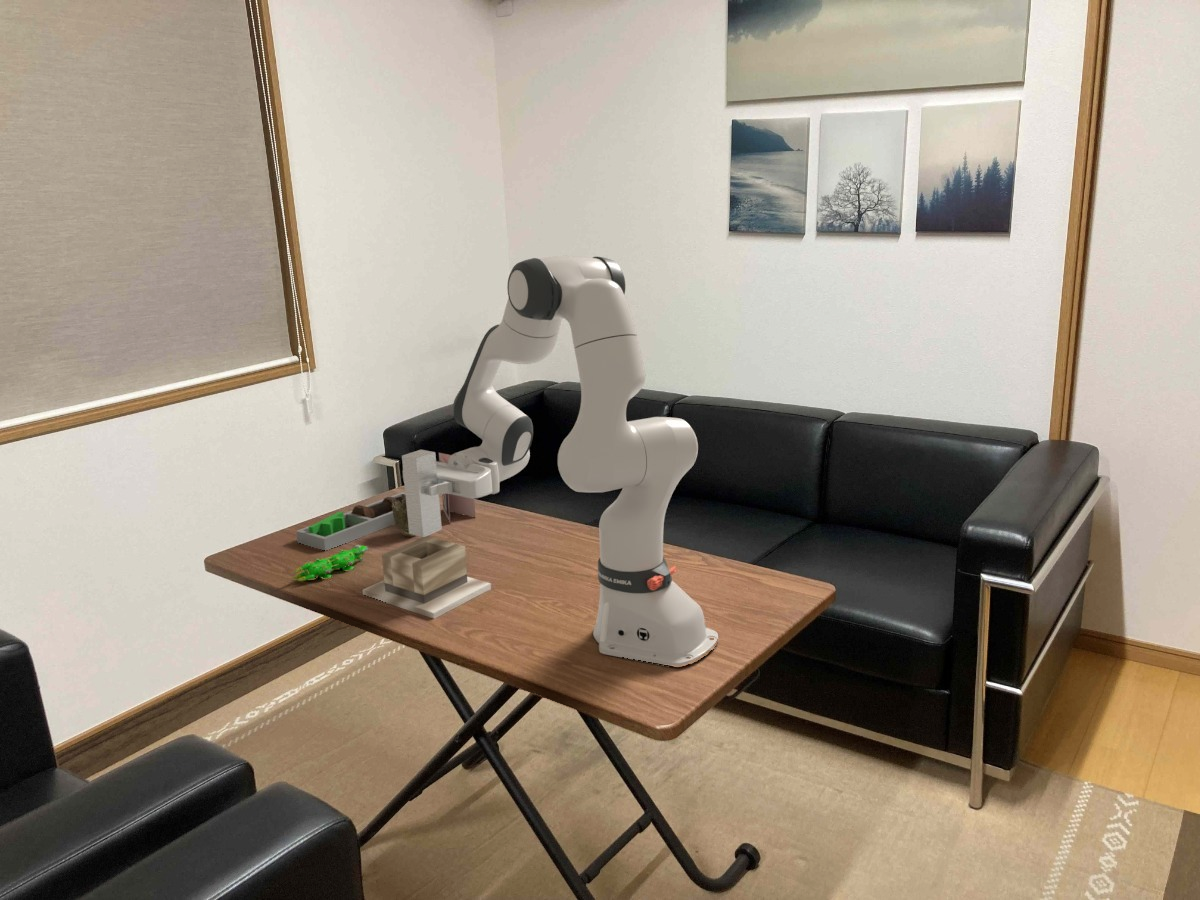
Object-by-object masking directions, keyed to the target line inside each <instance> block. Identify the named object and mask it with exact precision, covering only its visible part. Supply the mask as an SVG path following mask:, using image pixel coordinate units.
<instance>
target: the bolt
mask: <svg viewBox="0 0 1200 900" xmlns="http://www.w3.org/2000/svg"><path fill="white" fill-rule="evenodd" d="M383 499H384V500H383V502H382V503H379V504H376V505H373V506H371V507H365V506H366V505H355V506H354V507H353V509H352V510H353V511H352V510H351V511H352V514H356V515H360V516H364V517H368V518H372V519H373V518H376V517H378V516H381V515H383V514H386V513H389V512H391V511H393V510H392V506H391V505H392V503H393V504H394V502H395V501H396V502H397V501H398V500H399V501H400V502H401V503H402V500H403V499H404V498H403V497H401V496H400V497H397V498H394V497H390V496H387V497H384V498H383ZM404 500H405V502H406V499H404Z"/></svg>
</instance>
